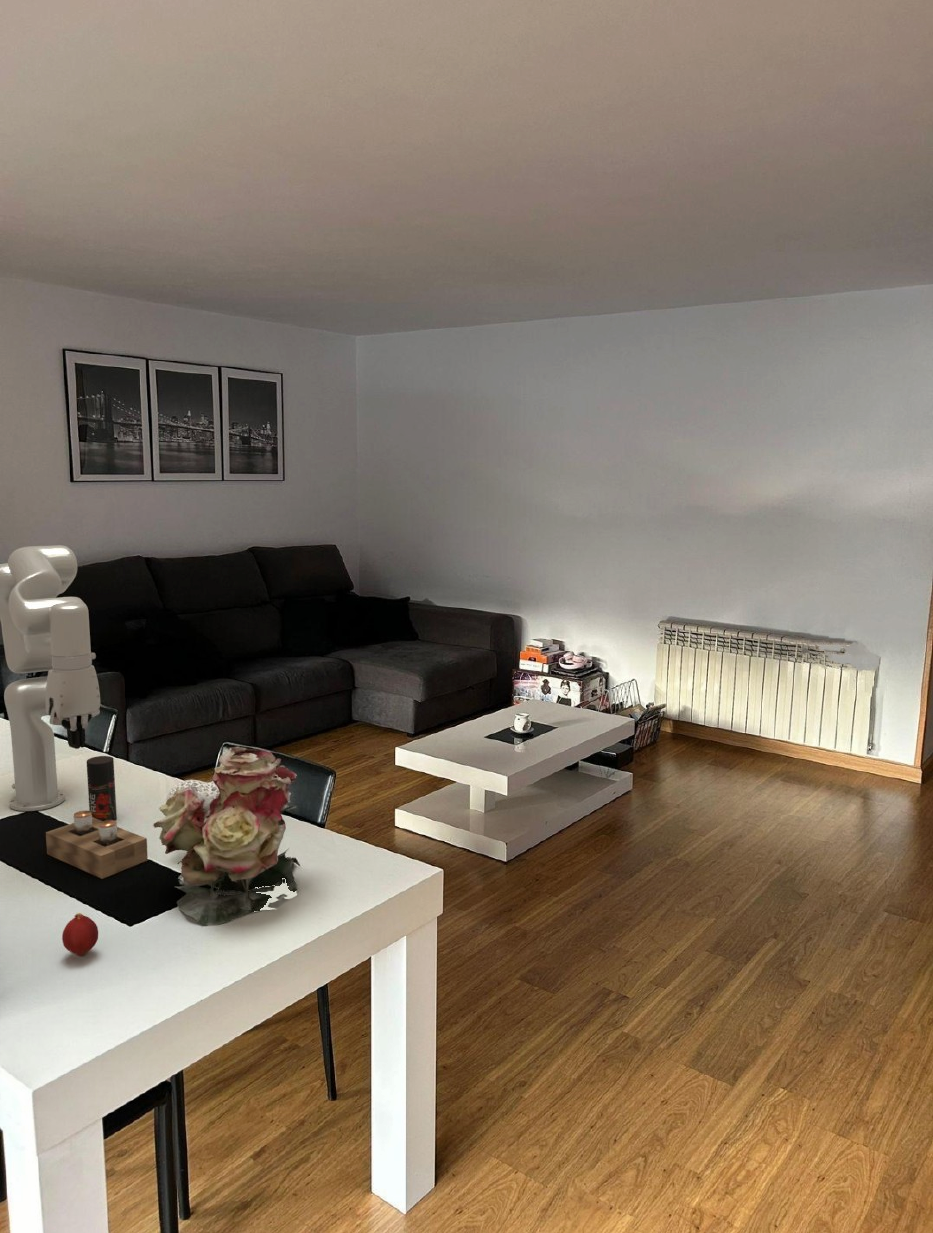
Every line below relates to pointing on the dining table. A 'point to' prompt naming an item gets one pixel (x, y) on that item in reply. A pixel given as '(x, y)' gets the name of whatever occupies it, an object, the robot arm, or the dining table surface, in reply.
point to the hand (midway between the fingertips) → (77, 746)
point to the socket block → (96, 850)
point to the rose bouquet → (231, 836)
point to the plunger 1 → (83, 822)
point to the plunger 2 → (107, 832)
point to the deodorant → (101, 788)
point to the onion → (80, 935)
